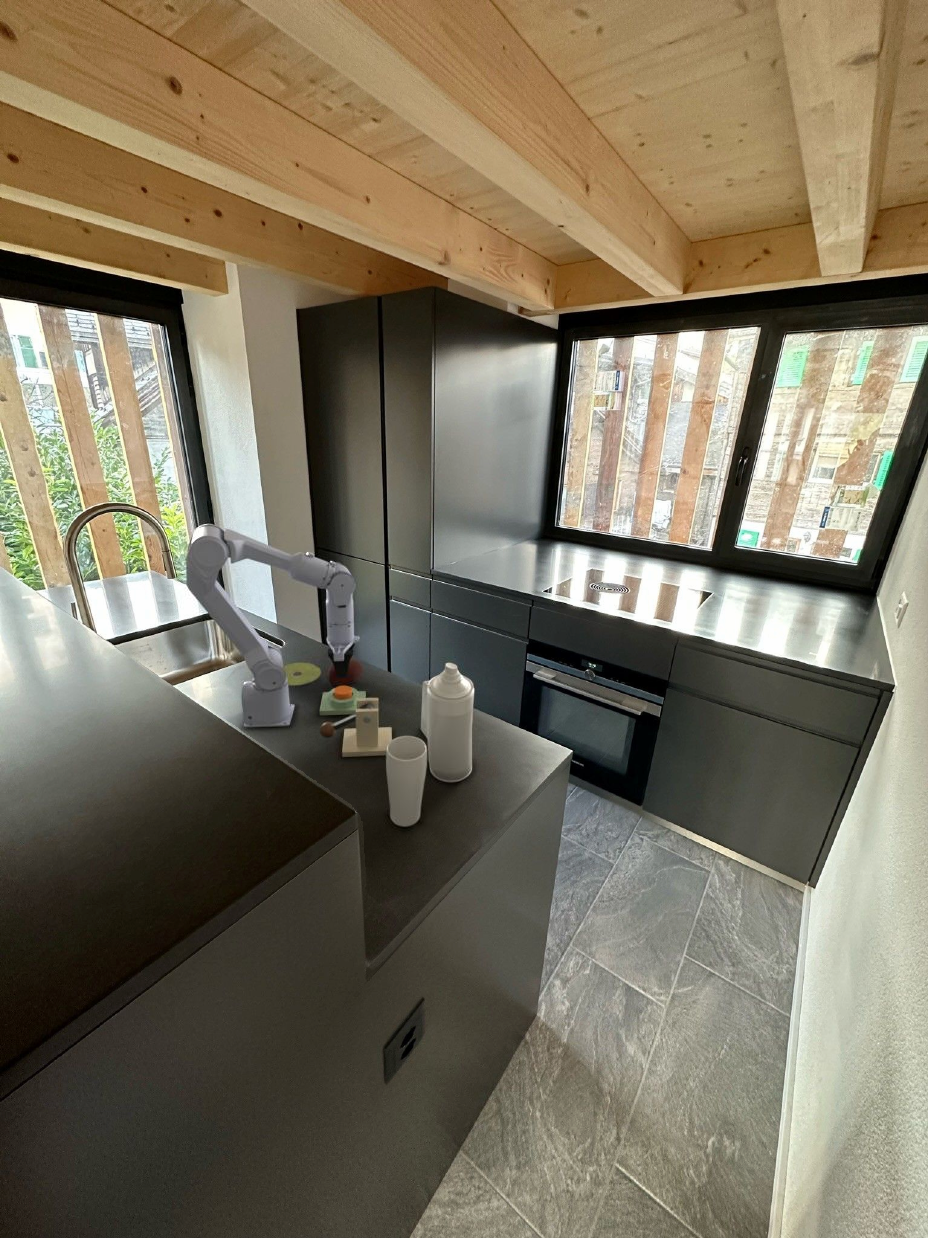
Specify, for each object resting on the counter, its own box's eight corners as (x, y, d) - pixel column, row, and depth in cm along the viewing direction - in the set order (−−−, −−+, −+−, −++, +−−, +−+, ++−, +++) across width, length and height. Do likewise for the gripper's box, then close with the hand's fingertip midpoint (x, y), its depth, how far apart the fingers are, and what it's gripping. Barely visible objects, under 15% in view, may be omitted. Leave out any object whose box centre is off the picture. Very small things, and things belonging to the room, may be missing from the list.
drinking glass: (418, 835, 87) (421, 764, 81) (380, 827, 88) (380, 756, 82) (428, 806, 93) (432, 739, 87) (393, 799, 94) (393, 732, 88)
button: (333, 700, 118) (333, 694, 117) (335, 691, 121) (334, 685, 121) (351, 700, 118) (351, 694, 118) (352, 690, 122) (352, 685, 121)
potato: (320, 686, 128) (319, 664, 125) (350, 670, 136) (349, 650, 133) (341, 696, 124) (340, 674, 122) (370, 679, 132) (370, 658, 130)
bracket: (342, 757, 104) (340, 716, 100) (344, 733, 111) (343, 694, 107) (392, 755, 106) (392, 715, 102) (391, 731, 113) (391, 693, 109)
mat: (314, 665, 137) (314, 659, 136) (326, 685, 128) (326, 679, 127) (270, 674, 132) (269, 667, 131) (279, 695, 123) (279, 688, 122)
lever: (324, 743, 105) (316, 732, 103) (325, 733, 108) (317, 722, 106) (377, 719, 104) (369, 707, 103) (377, 710, 107) (369, 699, 106)
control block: (319, 715, 117) (319, 704, 115) (323, 696, 124) (322, 685, 123) (364, 714, 118) (364, 703, 117) (365, 695, 125) (365, 684, 124)
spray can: (484, 786, 99) (495, 673, 89) (431, 797, 95) (436, 681, 85) (463, 749, 109) (471, 644, 99) (414, 758, 105) (417, 650, 95)
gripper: (357, 634, 106) (358, 690, 112) (360, 607, 119) (361, 658, 125) (322, 634, 105) (325, 691, 111) (329, 607, 118) (331, 659, 124)
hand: (342, 674), depth 118 cm, fingers closed
